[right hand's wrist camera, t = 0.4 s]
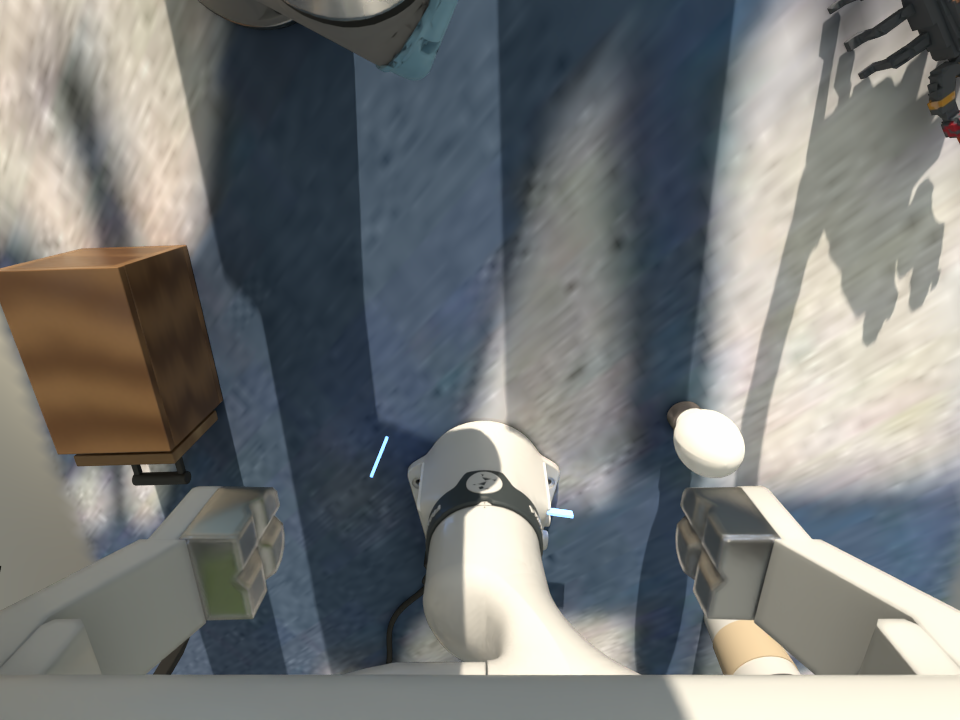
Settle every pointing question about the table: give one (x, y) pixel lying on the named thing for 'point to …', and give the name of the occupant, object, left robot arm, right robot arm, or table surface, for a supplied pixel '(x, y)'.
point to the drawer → (152, 459)
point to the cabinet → (113, 346)
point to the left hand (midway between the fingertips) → (91, 609)
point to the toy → (942, 31)
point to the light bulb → (706, 440)
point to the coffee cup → (747, 649)
